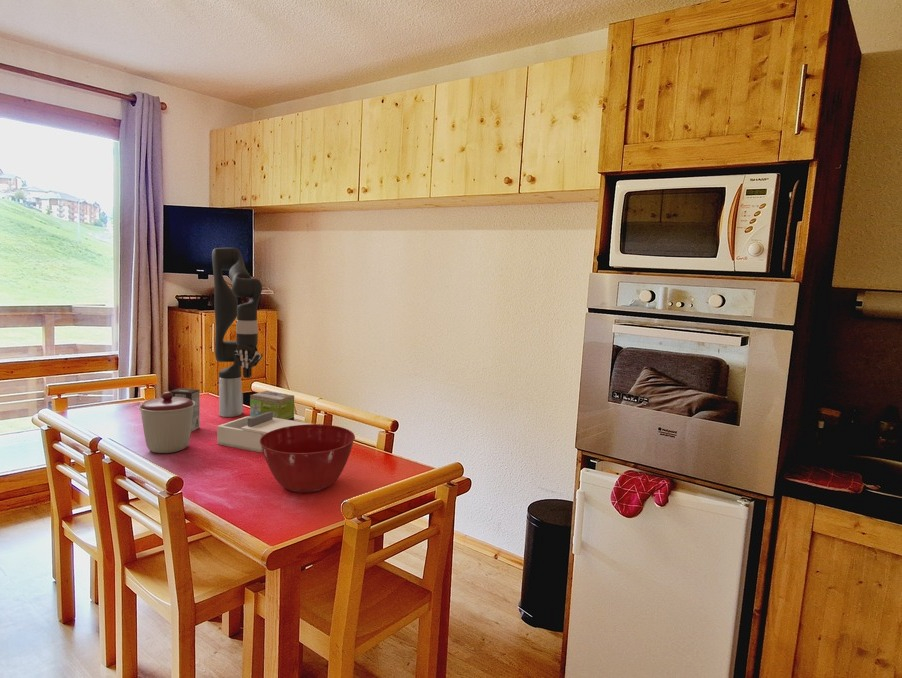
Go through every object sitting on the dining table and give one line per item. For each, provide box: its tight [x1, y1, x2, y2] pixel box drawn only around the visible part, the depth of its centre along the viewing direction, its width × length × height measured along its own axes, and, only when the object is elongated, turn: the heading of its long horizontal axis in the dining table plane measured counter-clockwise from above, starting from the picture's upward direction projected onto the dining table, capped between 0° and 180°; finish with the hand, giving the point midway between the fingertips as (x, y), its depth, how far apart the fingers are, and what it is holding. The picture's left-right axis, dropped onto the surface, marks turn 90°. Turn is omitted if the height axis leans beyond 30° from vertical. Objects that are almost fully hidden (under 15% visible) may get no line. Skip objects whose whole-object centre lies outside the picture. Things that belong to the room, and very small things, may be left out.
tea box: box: [249, 390, 295, 421], centre depth 225 cm, size 15×10×15 cm
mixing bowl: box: [260, 423, 356, 494], centre depth 169 cm, size 28×28×16 cm
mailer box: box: [216, 415, 265, 453], centre depth 208 cm, size 20×16×7 cm
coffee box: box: [170, 387, 201, 433], centre depth 220 cm, size 9×6×16 cm
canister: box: [137, 391, 195, 454], centre depth 195 cm, size 18×18×21 cm
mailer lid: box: [241, 411, 312, 434], centre depth 203 cm, size 21×17×4 cm
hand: (247, 377), depth 206 cm, fingers closed
